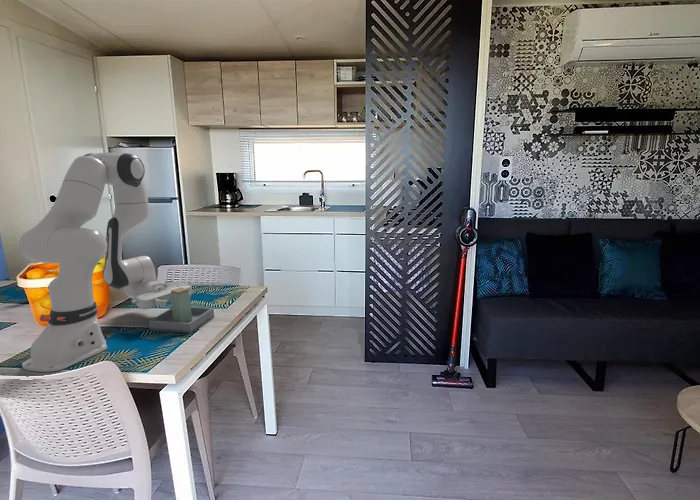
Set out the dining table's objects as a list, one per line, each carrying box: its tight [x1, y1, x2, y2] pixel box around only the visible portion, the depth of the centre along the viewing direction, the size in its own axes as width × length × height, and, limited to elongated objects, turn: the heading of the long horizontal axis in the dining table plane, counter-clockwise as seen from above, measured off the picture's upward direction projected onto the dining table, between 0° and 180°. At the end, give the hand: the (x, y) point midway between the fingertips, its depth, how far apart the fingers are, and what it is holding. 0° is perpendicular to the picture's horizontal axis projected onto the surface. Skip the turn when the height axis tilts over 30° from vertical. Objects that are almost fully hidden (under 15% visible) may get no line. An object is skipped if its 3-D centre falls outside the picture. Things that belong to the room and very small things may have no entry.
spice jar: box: [170, 288, 192, 323], centre depth 146 cm, size 5×5×12 cm
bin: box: [147, 306, 215, 334], centre depth 147 cm, size 16×16×4 cm
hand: (178, 299), depth 147 cm, fingers open, 8 cm apart
